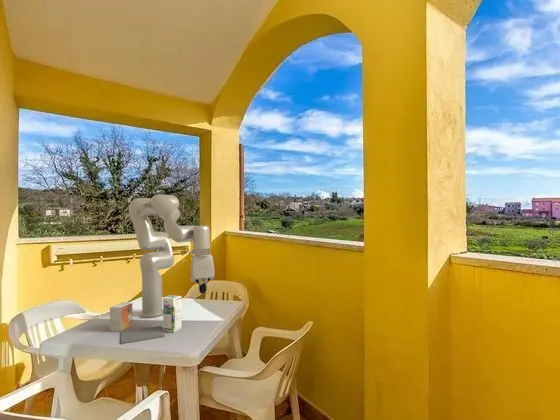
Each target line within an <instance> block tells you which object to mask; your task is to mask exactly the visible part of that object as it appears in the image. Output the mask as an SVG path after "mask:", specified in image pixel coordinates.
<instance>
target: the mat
mask: <svg viewBox="0 0 560 420" xmlns="http://www.w3.org/2000/svg"><path fill="white" fill-rule="evenodd" d="M120 333H121V336H120V340H121V341H120V344H121V345H123V344H124V343H125V344H128V343H129V344H130V343H135V342H136V343H137V342H141V341H148V340H152V339H153V340H155V339H159V338H165V331H163V326H162V325H157V326H150V327H143V328H136V329H130V330H123V331H121V332H120Z"/></svg>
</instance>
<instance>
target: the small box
mask: <svg viewBox="0 0 560 420" xmlns="http://www.w3.org/2000/svg"><path fill="white" fill-rule="evenodd" d="M132 327H133V303H132V302H121V303H119V304H116V305H113V306H110V307H109V331H110V332H120V333H121V332H122V331H126V330H127V329H129V328H132Z"/></svg>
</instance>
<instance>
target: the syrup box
mask: <svg viewBox="0 0 560 420" xmlns="http://www.w3.org/2000/svg"><path fill="white" fill-rule="evenodd" d="M162 309H163V315H162V330H163V332H168V333H176V332H177V331H179V330H181V329H182V295H172V294H171V295H170V294H169V295H166V296H165V297H162Z"/></svg>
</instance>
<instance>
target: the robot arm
mask: <svg viewBox="0 0 560 420" xmlns="http://www.w3.org/2000/svg"><path fill="white" fill-rule="evenodd" d="M179 208H180V201H179V199H178V197H176V196H175V195H173V194H172V195H171V194H161V193H160V194H159V193H158V194H155V195H153V196H152V197H151V198H150V197H137V198H134V199H133V200H131V202H130V203H129V205H128V214H129V217H130V220H131V222H132V224H133V227H134V232H135V236H136V239H137V244H138V246H139V248H140V250H142V251H145V252H146V251H150V252H146V253H143V254H142V255H141V256H140V259H139V266H140V272H141V289H142V290H141V295H142V296H141V298H142V299H141V302H142V303H141V309H142V310H141V311H140V312H139V313H138V316H139V317H140V318H144V319H151V318H158V317H162V316H163V277H162V275H161V273H160V270H166V269H169V268H172V267H173V265H174V264H175V263H174V262H175V256H174V252H173V248H172V244H171V240H170V239H172V241H174V242H176V243H191V242H192V250H190V251H189V254H190V255H193V256H191V259H190V279H189V280H190V282H193V283H194V282H195V283H197V284H198V290H199V293H200V294H201V295H204V294H206V293H207V285H208V283H209V282H210V281H212V280H214V279H215V272H216V271H215V264H214V257H213V255H212V254H211V242H210V241H211V238H210V236H211V235H210V234H211V233H210V227H209V226H208V225H179V224H178V223H177V221H178V219H179V218H180V217H181V216H180V215H181V212H180V209H179ZM146 215H158V216H159V217H161V219H162V220H163V221H164V222H163V227H164V231H165V232H164V231H154V228H153V224H152V222H151V220H150V219H149V218H148V217H147V216H146ZM155 250H157V251H155ZM202 279H203V281H202Z"/></svg>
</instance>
